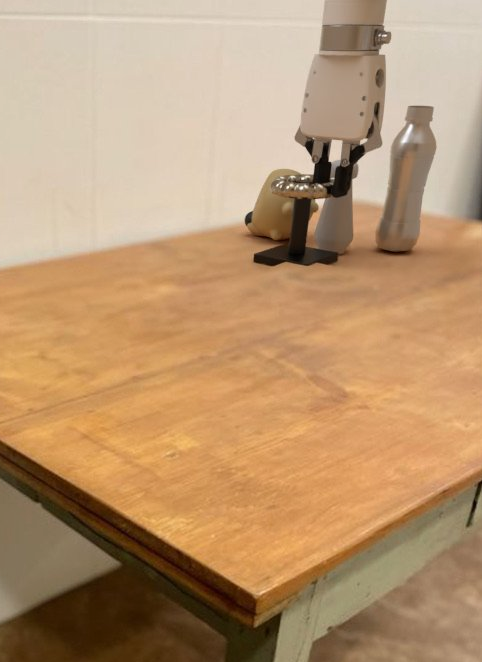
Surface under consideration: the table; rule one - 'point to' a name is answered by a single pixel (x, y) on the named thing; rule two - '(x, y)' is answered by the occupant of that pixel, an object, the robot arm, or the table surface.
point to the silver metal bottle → (407, 181)
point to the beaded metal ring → (301, 187)
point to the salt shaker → (336, 219)
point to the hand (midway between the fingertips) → (330, 193)
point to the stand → (297, 241)
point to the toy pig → (274, 211)
